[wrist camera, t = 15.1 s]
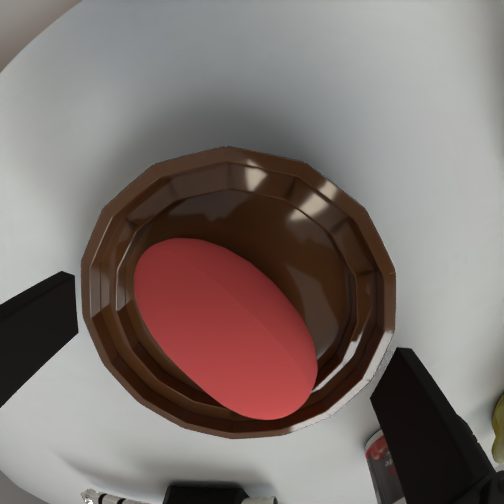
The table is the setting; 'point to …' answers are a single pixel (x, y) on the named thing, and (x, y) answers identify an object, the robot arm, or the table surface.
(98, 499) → the audio adapter
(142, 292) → the stress ball
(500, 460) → the mug
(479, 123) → the table surface
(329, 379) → the plate
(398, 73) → the table surface
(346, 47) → the table surface
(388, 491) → the pill bottle
